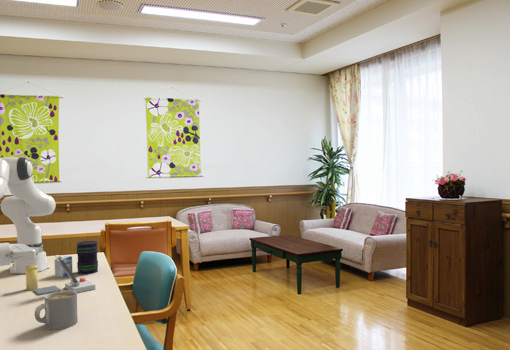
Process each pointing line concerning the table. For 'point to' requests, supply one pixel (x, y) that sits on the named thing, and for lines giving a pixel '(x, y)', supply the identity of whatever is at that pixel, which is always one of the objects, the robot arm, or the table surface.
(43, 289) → the pad
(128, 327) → the table surface
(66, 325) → the coffee mug
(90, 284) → the panel
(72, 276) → the toggle
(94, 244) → the storage jar
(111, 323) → the table surface
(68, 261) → the medicine box
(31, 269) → the yellow lidded cup
